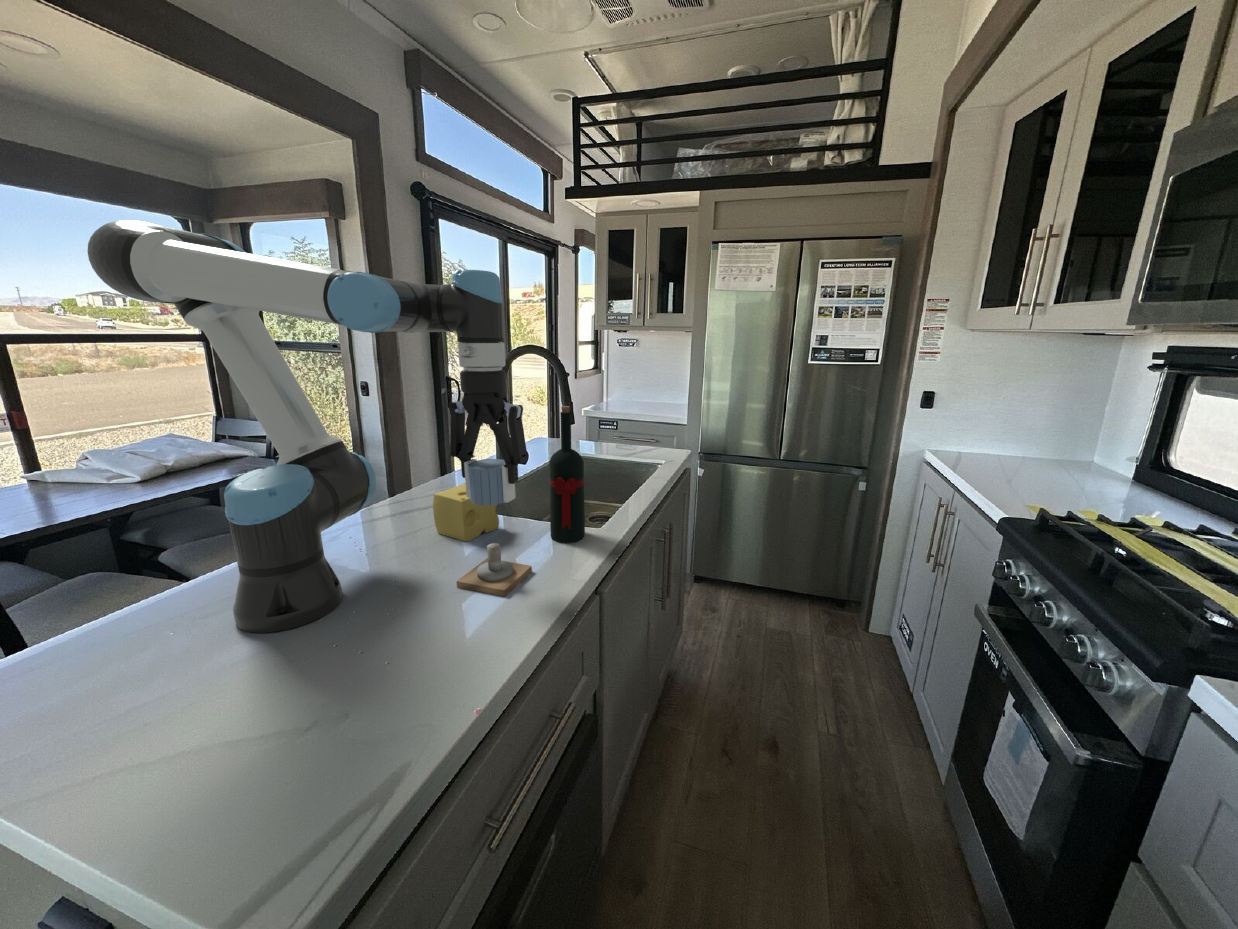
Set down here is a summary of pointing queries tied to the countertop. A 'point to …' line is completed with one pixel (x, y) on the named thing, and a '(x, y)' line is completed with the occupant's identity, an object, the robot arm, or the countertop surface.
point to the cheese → (462, 515)
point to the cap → (486, 481)
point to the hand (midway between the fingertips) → (491, 497)
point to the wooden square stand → (494, 574)
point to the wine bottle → (566, 488)
